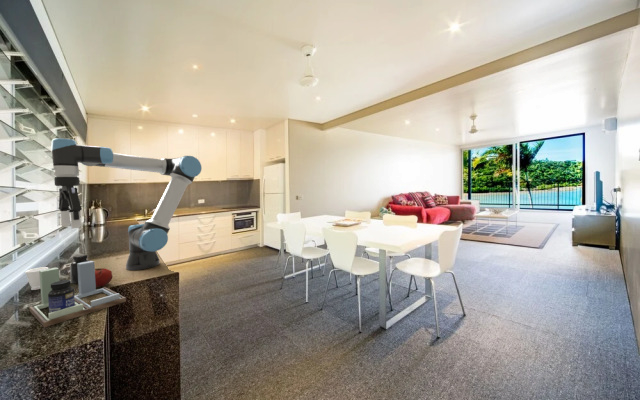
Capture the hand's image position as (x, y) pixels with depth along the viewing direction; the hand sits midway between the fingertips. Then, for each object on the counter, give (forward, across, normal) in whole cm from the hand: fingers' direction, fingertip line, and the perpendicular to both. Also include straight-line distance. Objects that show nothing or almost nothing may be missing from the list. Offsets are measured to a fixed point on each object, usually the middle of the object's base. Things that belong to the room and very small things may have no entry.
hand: (71, 226), depth 109 cm
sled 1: (+26, +23, -10) cm, 37 cm away
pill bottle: (+26, +29, -10) cm, 40 cm away
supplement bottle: (+27, -9, +4) cm, 28 cm away
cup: (+26, -16, -8) cm, 32 cm away
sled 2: (+26, +24, 0) cm, 35 cm away
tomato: (+27, +7, +6) cm, 28 cm away
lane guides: (+26, +25, -5) cm, 36 cm away
